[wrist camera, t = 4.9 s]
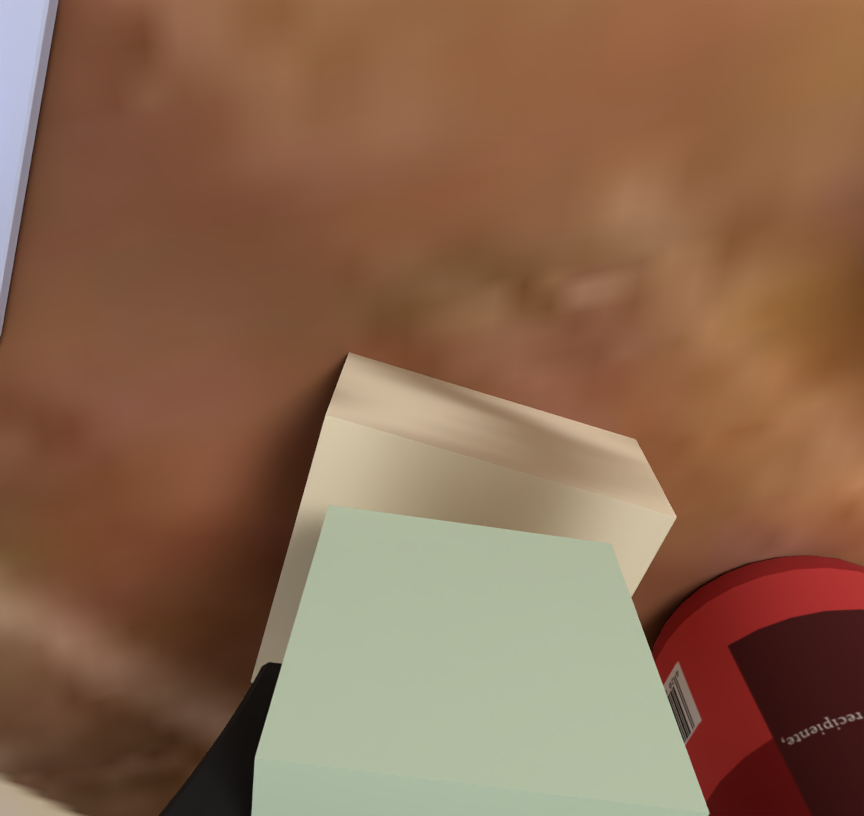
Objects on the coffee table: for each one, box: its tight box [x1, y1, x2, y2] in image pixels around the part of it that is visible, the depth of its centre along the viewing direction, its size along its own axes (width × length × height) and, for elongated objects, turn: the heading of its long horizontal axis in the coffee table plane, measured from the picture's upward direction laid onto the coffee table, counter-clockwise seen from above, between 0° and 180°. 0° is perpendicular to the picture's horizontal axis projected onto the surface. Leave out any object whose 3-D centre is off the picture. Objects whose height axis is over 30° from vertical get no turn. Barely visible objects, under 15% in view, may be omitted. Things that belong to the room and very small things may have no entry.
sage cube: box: [251, 505, 709, 816], centre depth 11 cm, size 5×5×5 cm
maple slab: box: [251, 353, 677, 683], centre depth 16 cm, size 7×7×4 cm
